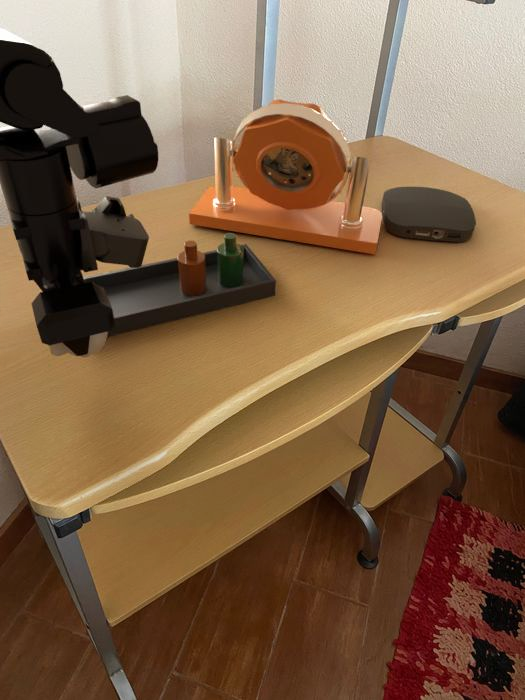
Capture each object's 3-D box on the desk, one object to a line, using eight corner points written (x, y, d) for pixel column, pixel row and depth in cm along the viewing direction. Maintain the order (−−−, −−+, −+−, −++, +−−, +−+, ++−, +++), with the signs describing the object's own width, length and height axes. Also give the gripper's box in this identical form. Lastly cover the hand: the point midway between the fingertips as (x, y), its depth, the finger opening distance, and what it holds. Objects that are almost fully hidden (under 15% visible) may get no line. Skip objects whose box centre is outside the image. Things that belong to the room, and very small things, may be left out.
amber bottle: (184, 298, 70) (181, 253, 66) (176, 284, 73) (172, 239, 68) (210, 292, 71) (208, 247, 67) (201, 278, 74) (199, 234, 69)
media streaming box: (460, 204, 95) (465, 188, 93) (476, 246, 84) (482, 229, 82) (379, 197, 96) (382, 182, 94) (384, 238, 85) (388, 221, 83)
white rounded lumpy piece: (121, 351, 57) (109, 291, 52) (65, 379, 54) (47, 318, 49) (95, 327, 60) (82, 268, 55) (40, 352, 57) (21, 292, 51)
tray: (89, 341, 64) (85, 325, 62) (74, 295, 71) (70, 279, 69) (275, 295, 72) (276, 280, 71) (245, 258, 79) (246, 243, 77)
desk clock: (373, 259, 80) (402, 123, 67) (188, 228, 85) (180, 96, 72) (380, 221, 89) (407, 95, 76) (212, 195, 94) (209, 72, 80)
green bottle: (223, 289, 72) (222, 244, 67) (213, 275, 74) (212, 231, 70) (247, 284, 73) (248, 239, 69) (237, 270, 76) (237, 226, 71)
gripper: (164, 234, 42) (177, 374, 52) (111, 149, 54) (130, 275, 65) (15, 262, 38) (61, 406, 49) (-6, 163, 50) (35, 295, 61)
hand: (77, 337), depth 56 cm, fingers closed on white rounded lumpy piece, 5 cm apart
